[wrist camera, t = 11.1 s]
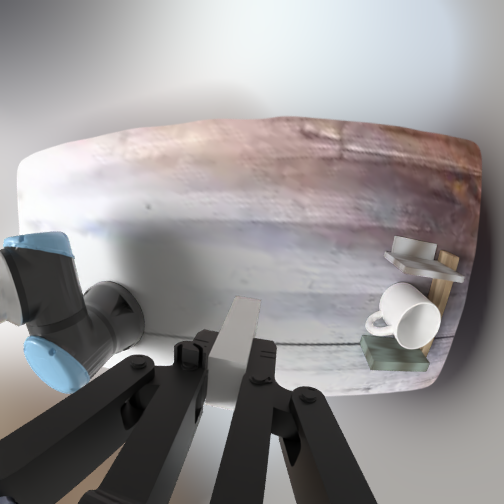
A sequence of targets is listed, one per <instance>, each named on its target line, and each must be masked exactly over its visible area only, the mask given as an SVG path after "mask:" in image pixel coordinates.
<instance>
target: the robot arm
mask: <svg viewBox="0 0 504 504" xmlns="http://www.w3.org/2000/svg"><path fill="white" fill-rule="evenodd" d="M3 246H4V249H1V250H0V323H3V322H5V321H9V322H11V323H13V324H15V325H17V326H21V325H23V324H25V323H26V325H27V328H28V331H29V334H30V336H29V337H27V339H26V341H25V342H24V353H25V357H26V359H27V361H28V363H29V365H30V366H31V368H32V369H33V371H34V372H35V373H36V374H37V375H38V377H40V379H41V380H42V381H44V382H45V383H46V384H47V385H49V386H50V387H52V388H53V389H55V390H57V391H59V392H62V393H66V394H71V393H73V394H71V395H70V396H68V397H67V398H65V399H64V400H62V401H60V402H59V403H57V404H56V405H54V406H53V407H51V408H50V409H48V410H47V411H45V412H44V413H42V414H40V415H39V416H37V417H36V418H34V419H33V420H31V421H30V422H28V423H27V424H25V425H23V426H22V427H20V428H19V429H17V430H15V431H14V432H12V433H11V434H9V435H8V436H6V437H4V438H3V439H1V440H0V504H55V503H56V502H58V501H59V500H60V499H61V498H62V497H64V496H65V495H66V494H67V493H68V492H70V491H71V490H72V489H73V488H74V487H75V486H77V485H78V484H79V483H80V482H81V481H82V480H84V479H85V478H86V477H87V476H88V475H89V474H91V473H92V472H93V471H94V470H95V469H96V468H97V467H98V466H100V465H101V464H102V463H103V462H104V461H105V460H106V459H107V458H109V457H110V456H111V455H112V454H113V453H114V452H115V451H116V450H117V449H118V448H119V447H121V446H122V445H123V444H124V443H125V444H124V446H123V448H122V449H121V451H120V452H119V454H118V456H117V457H116V459H115V461H114V463H113V464H112V466H111V468H110V469H109V471H108V473H107V474H106V476H105V478H104V479H103V481H102V483H101V484H100V486H99V487H98V488H97V489H96V490H89V491H88V492H86V493H85V494H84V495H83V496H82V498H81V499H80V501H79V502H78V504H168V503H169V501H170V498H171V495H172V493H173V490H174V487H175V485H176V482H177V480H178V477H179V474H180V472H181V469H182V466H183V464H184V461H185V458H186V456H187V453H188V450H189V448H190V445H191V442H192V440H193V437H194V434H195V432H196V429H197V426H198V424H199V421H200V418H201V415H202V413H203V404H204V401H206V402H205V405H209V406H214V407H218V408H223V409H228V410H233V411H234V413H233V417H232V421H231V425H230V429H229V433H228V437H227V441H226V445H225V448H224V452H223V456H222V460H221V463H220V467H219V471H218V475H217V478H216V483H215V486H214V490H213V493H212V497H211V500H210V504H263V498H264V490H265V481H266V473H267V464H268V455H269V446H270V435H271V433H272V434H274V435H277V436H279V442H280V445H281V449H282V453H283V456H284V460H285V464H286V467H287V471H288V475H289V478H290V482H291V485H292V489H293V493H294V495H295V500H296V503H297V504H377V502H376V500H375V498H374V496H373V494H372V492H371V490H370V487H369V486H368V483H367V481H366V480H365V477H364V475H363V473H362V471H361V469H360V467H359V465H358V463H357V461H356V459H355V457H354V455H353V453H352V451H351V449H350V447H349V445H348V443H347V441H346V439H345V437H344V435H343V433H342V431H341V429H340V427H339V425H338V423H337V421H336V419H335V417H334V415H333V413H332V411H331V409H330V407H329V405H328V403H327V401H326V399H325V396H324V395H323V394H322V392H320V391H319V390H317V389H315V388H312V387H306V386H303V387H298V388H296V389H294V390H293V391H290V390H287V389H285V388H283V387H281V386H280V385H278V383H277V382H276V381H275V377H274V376H275V363H276V350H277V347H276V345H275V343H274V342H273V341H269V340H263V339H257V338H255V335H256V329H257V323H258V317H259V310H260V304H261V300H258V299H252V298H246V297H240V296H235V299H234V301H233V303H232V305H231V308H230V310H229V312H228V314H227V316H226V319H225V321H224V323H223V325H222V328H221V330H220V332H214V331H209V330H202V331H201V332H199V333H197V335H196V337H195V338H194V340H193V341H182V342H179V343H177V344H176V345H175V346H174V363H173V365H171V366H154V361H153V360H152V359H151V358H149V357H148V356H145V355H131V356H129V357H127V358H125V359H124V360H122V361H121V362H119V363H118V364H116V365H115V366H113V367H112V368H110V369H109V370H107V371H106V372H105V373H103V374H102V375H100V376H98V377H97V378H95V379H94V380H93V381H91V382H89V381H90V379H91V378H92V377H93V376H94V375H95V374H96V373H97V372H98V370H99V369H100V368H101V367H102V366H103V365H104V364H105V363H106V362H107V361H108V360H109V359H110V358H111V357H112V356H113V355H114V354H117V353H119V352H122V351H125V350H127V349H130V348H131V347H133V346H134V345H135V344H136V343H137V342H138V341H139V339H140V338H141V336H142V334H143V331H144V318H143V314H142V311H141V308H140V306H139V304H138V303H137V301H136V300H135V298H134V297H133V296H132V295H131V294H130V292H128V291H127V290H126V289H125V288H123V287H122V286H120V285H118V284H116V283H113V282H108V281H104V282H99V283H97V284H95V285H93V286H92V287H90V288H89V289H88V290H87V291H86V292H85V293H84V295H83V294H82V290H81V286H80V282H79V278H78V274H77V270H76V266H75V262H74V259H75V257H74V255H73V254H72V250H71V246H70V242H69V239H68V237H67V235H66V234H64V233H63V232H59V231H55V232H42V233H33V234H26V235H20V236H13V237H8V238H6V239H4V244H3ZM85 384H86V385H85ZM84 385H85V386H84ZM205 398H206V400H205Z"/></svg>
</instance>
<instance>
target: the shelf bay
mask: <svg viewBox="0 0 504 504" xmlns="http://www.w3.org/2000/svg"><path fill="white" fill-rule="evenodd" d="M436 247H437V244H433V243H429V242H424V241H419V240H414V239H409V238H404V237H399V236H395V237H394V242H393V246H392V251H391V252H386V251H385V253H384V257H385V258H386V259H387V260H388V261H390V262H391V263H392V264H393V265H395V266H396V267H397V268H398V269H400V270H401V271H402V272H403V273H404V274H410V275H416V276H423V277H429V278H433V280H432V284H431V287H430V291H429V294H428V297H427V298H428V299H429V300H430V301H431V302H432V303H433V304H434V305H435V306H436V307H437V308H438V309H439V312H440V315H441V318H442V315H443V312H444V309H445V306H446V303H447V300H448V297H449V294H450V290H451V287H452V284H453V281H454V282H460V283H463V281H464V278H465V277H464V276H462V275H461V274H459V273H457V272H456V269H457V265H458V261H459V257H457V256H455V255H453V254H451V253H449V252H447V251H443V250H440V253H439V257H438V261H435V260H434V256H435V251H436ZM433 340H434V338H433V339H432V340H431V341H430V342H429V343H428V344H426V345H425V346H423V347H421V348H418V349H406V348H404V347H402V346H401V345H400V344H399V343H398V341H397V339H396V338H386V337H375V336H365V335H362V338H361V341H360V345H361V347H362V350H363V352H364V355H365V357H366V360H367V362H368V365H369V367H370V370H383V371H418V372H426V371H427V369H428V367H429V364H430V363H429V361H428V360H427V358H426V357H427V354H428V352H429V349H430V347H431V345H432V342H433Z"/></svg>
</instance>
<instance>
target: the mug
mask: <svg viewBox="0 0 504 504" xmlns="http://www.w3.org/2000/svg"><path fill="white" fill-rule="evenodd" d="M379 310H380V311H377V312H375V313H373V314H372V315H370V316H369V317H368V319H367V321H366V329H367V331H368V332H369V333H371V334H372V335H375V336H387V335H392V334H393V335H394V336H395V338H396V339H397V341H398V343H399V344H400V345H401V346H402V347H404V348H406V349H418V348H421V347H423V346H425V345H426V344H428V343H429V342H430V341H431V340H432V339H433V338H434V337H435V335H436V334H437V332H438V330H439V327H440V323H441V315H440V312H439V309H438V308H437V307H436V306H435V305H434V304H433V303H432V302H431V301H430V300H429V299H428V298H426V297H425V296H424V295H423V294H422V293H421V292H420V291H419V290H417V289H416V288H415V287H414V286H412V285H411V284H409V283H405V282H401V283H396V284H394V285H392V286H390V287H389V288H388V289H387V290H386V291H385V292H384V293H383V295H382V297H381V299H380V304H379ZM381 318H383V320H384V321H385V323H386V324H387V326H386V327H381V328H378V327H375V326H373V323H374V322H375V321H376V320H378V319H381Z"/></svg>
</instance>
